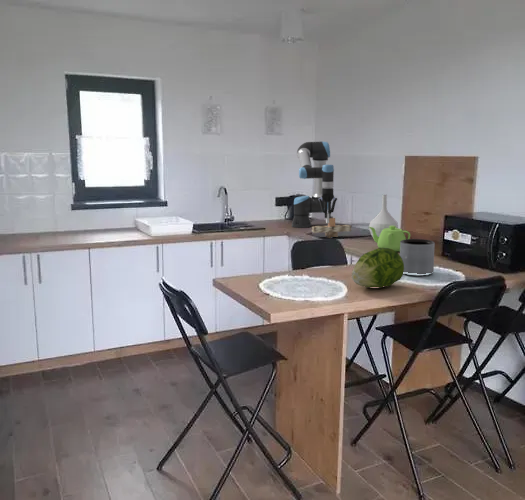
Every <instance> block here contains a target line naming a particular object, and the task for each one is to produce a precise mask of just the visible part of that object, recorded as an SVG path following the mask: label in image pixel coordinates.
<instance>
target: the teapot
mask: <svg viewBox="0 0 525 500" xmlns="http://www.w3.org/2000/svg"><path fill="white" fill-rule="evenodd" d="M389 227H390V228H385V229H383V230H382V232H381V234H380V236H379V237H378V236H377V235H376V231H375V229H374V228H373V227H369V226H368V229H369V228H370V229H371V230H372V233H373V237H372V238H373V240H374V242H375V243H377V244H376V245H377V247H378V248H390V249H393V250H394V251H396V252H397V253H398V252H400V241H402V240H405V239H411V232H410V231H408V230H403V229H402V228H399V227H398V228H396V226H389ZM405 233H406V234H407V236H408V237H407V238H406V235H405Z"/></svg>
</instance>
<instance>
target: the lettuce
mask: <svg viewBox="0 0 525 500" xmlns="http://www.w3.org/2000/svg"><path fill="white" fill-rule="evenodd" d="M403 272H404V263H403V260H402V258H401V256H400V253H398V252H396V251H394V250H393V249H390V248H379V247H378V248H375V249H373V250H371V251H367V252H365V253H363V254H362V255H361V256H360V257H359V259H358V260H357V262H356V263H355V265H354V267H353V269H352V272H351V279H352V281H353V282H354V283H355V284H356V285H358V286H359V287H360V286H361V287H364V286H365V287H364V288H367V287H383V286H388V287H391V286H392V285H393V284H395V283H397V282H398V281H400V280H401V279H402V278H403V275H404V274H403Z"/></svg>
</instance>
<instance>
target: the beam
mask: <svg viewBox="0 0 525 500" xmlns="http://www.w3.org/2000/svg"><path fill="white" fill-rule="evenodd" d="M351 231H352V225H350V224H338V225H337V224H335V227H333V226H332V227H328V225H315V226H314V225H313V226H312V225H311V232H312V233H314V234H319V233H320V234H321V233H322V234H323V233H324V234H325V235H324V236H325V237H326V236H327V237H326V238H328V239H332V238H331V237H338V236H339V235H338V234H339V233H340V232H342V233H343V232H351ZM338 238H339V237H338Z"/></svg>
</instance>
